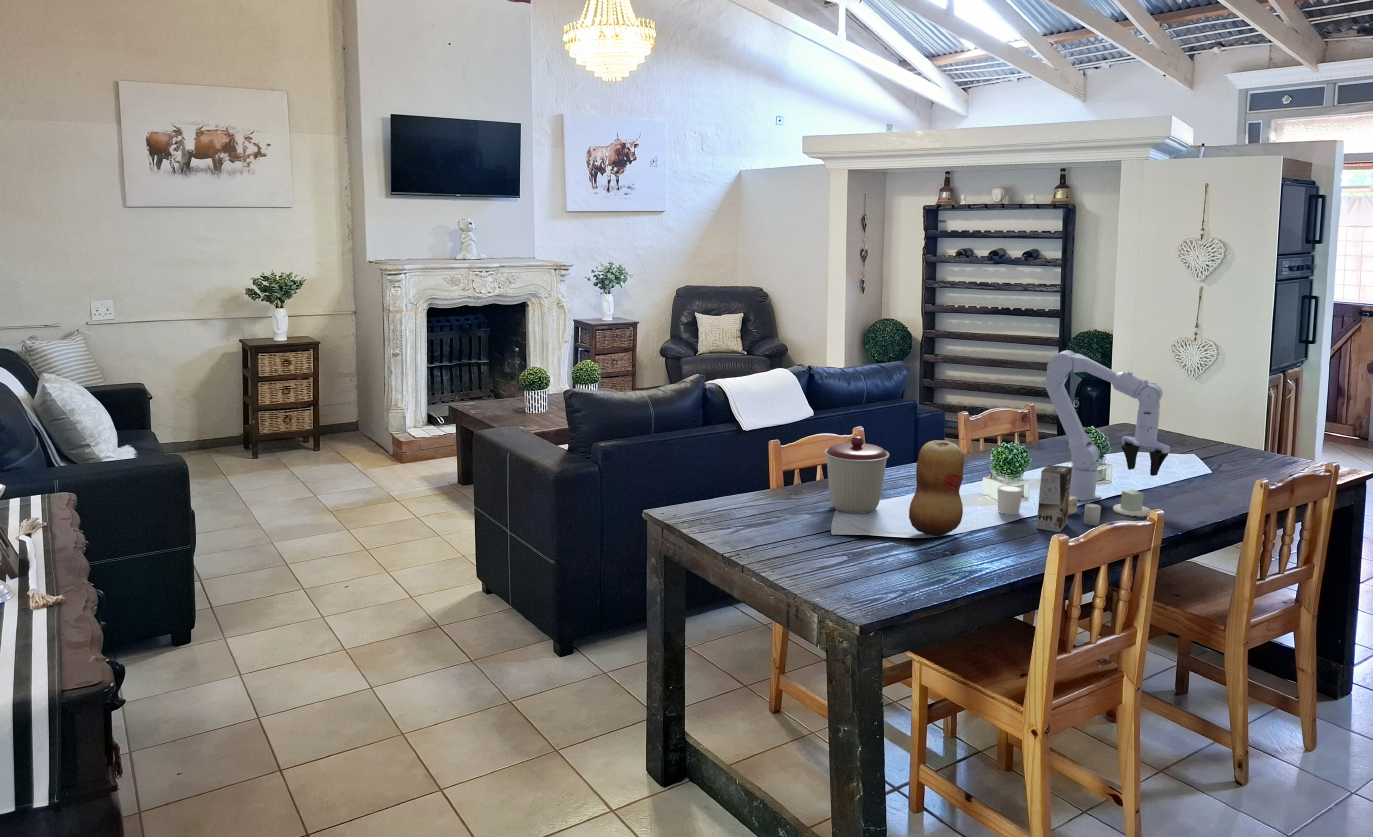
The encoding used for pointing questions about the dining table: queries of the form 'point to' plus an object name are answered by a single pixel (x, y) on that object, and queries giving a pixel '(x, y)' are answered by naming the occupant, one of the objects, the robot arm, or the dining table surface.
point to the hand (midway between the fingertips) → (1142, 472)
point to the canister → (855, 475)
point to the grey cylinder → (1092, 514)
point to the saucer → (1125, 512)
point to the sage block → (1132, 500)
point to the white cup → (1009, 499)
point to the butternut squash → (938, 489)
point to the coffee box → (1054, 498)
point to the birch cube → (1072, 505)
